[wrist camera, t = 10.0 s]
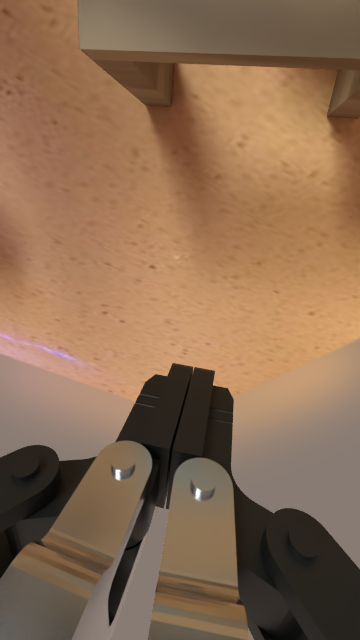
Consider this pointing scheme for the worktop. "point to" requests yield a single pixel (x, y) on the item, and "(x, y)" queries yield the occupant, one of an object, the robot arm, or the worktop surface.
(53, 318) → the worktop surface
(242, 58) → the bridge
